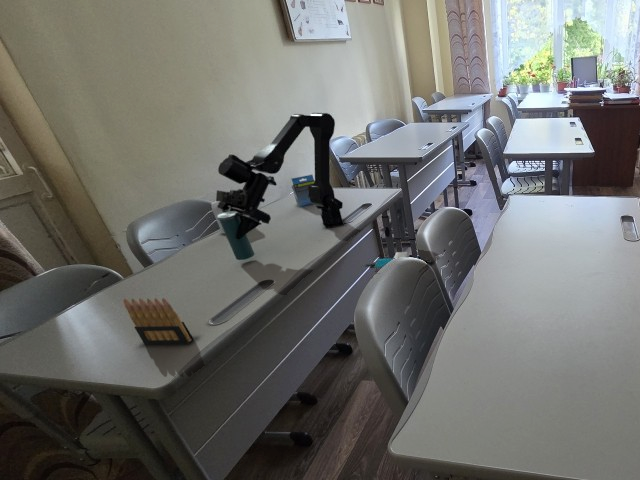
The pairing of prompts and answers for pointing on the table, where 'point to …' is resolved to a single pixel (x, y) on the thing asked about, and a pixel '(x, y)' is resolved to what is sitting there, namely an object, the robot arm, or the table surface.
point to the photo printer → (217, 213)
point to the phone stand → (386, 261)
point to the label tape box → (302, 189)
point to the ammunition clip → (157, 323)
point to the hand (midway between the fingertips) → (232, 237)
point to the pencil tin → (230, 227)
